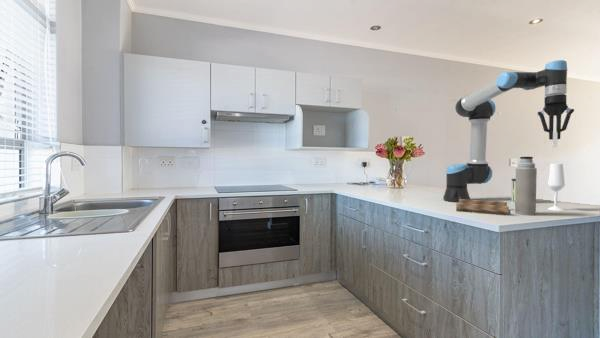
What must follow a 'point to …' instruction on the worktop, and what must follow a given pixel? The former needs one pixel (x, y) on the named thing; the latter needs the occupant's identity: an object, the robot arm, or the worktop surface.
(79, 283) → the worktop surface
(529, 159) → the thermos bottle
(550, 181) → the champagne flute
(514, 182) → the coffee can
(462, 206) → the cradle
